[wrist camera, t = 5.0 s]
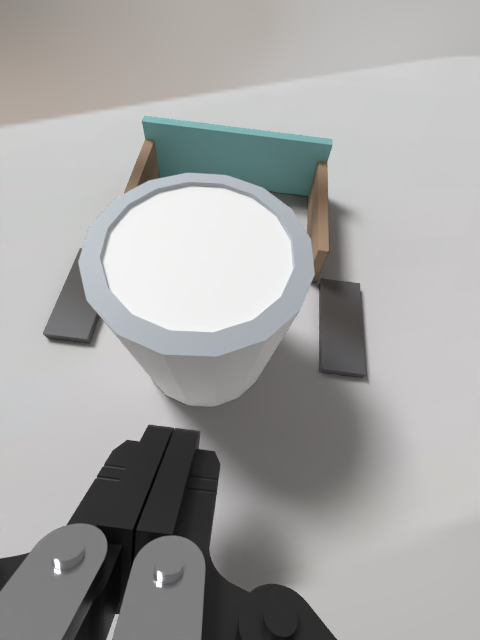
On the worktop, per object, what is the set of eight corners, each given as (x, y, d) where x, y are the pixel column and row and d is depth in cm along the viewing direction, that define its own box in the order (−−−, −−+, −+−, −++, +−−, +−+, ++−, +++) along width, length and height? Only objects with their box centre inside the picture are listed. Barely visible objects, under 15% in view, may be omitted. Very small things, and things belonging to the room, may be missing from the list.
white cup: (133, 435, 14) (70, 375, 8) (128, 294, 17) (80, 176, 11) (295, 408, 15) (348, 336, 9) (262, 279, 18) (285, 162, 12)
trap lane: (363, 377, 16) (386, 355, 14) (46, 337, 16) (19, 309, 14) (351, 201, 22) (366, 166, 19) (117, 172, 22) (106, 134, 20)
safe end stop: (316, 197, 22) (332, 145, 19) (152, 176, 22) (142, 121, 19) (316, 191, 22) (332, 139, 19) (154, 171, 22) (144, 115, 19)
